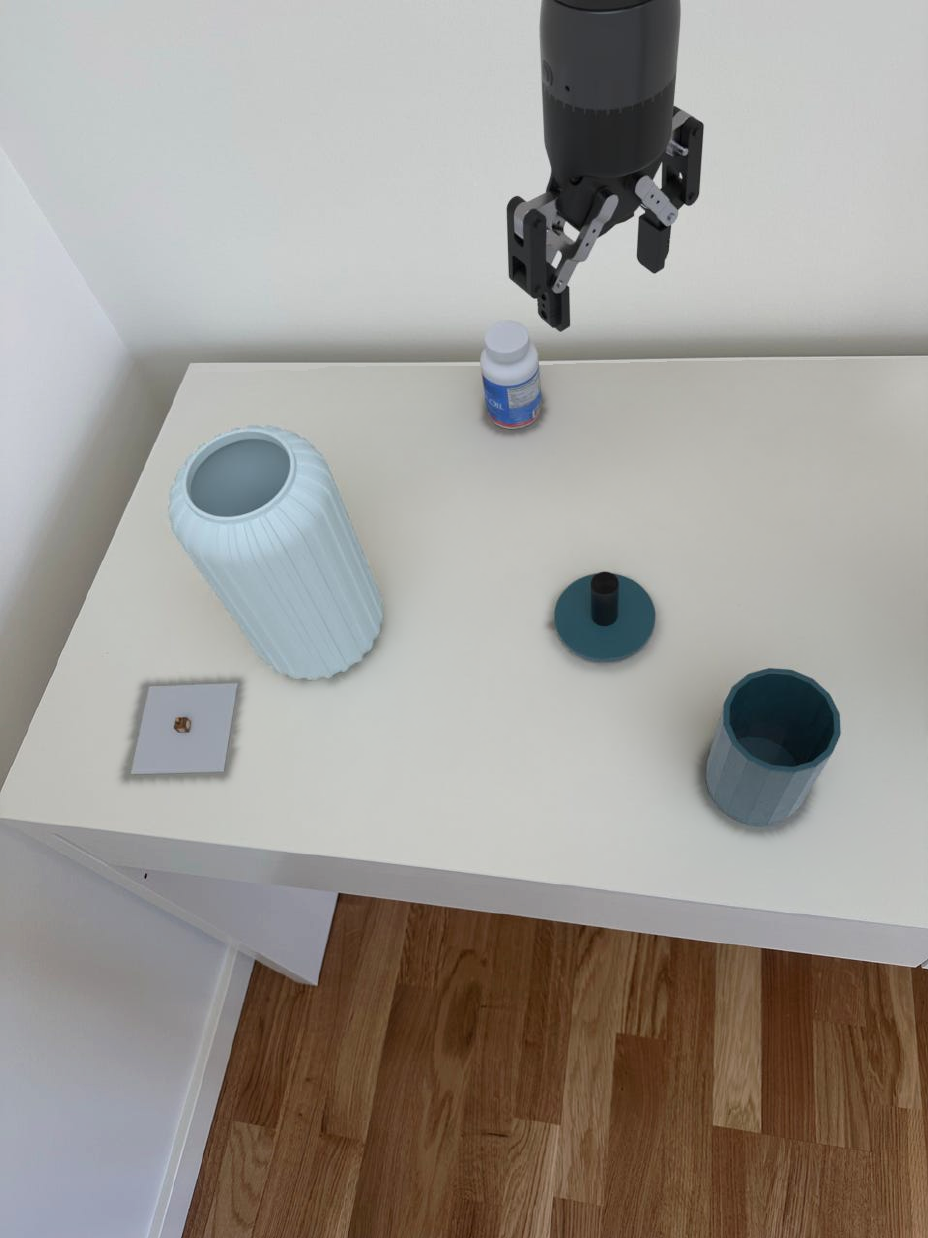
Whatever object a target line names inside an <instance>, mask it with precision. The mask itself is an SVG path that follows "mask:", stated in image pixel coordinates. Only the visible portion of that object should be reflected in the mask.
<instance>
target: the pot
mask: <svg viewBox="0 0 928 1238" xmlns="http://www.w3.org/2000/svg"><path fill="white" fill-rule="evenodd" d="M841 730H842V729H841V714H840V711H839V709H838V707H837V705H836V703H835V701H834V699H833V697H832V695H831V693H830V692H828V691H827V690H826V689H825V688H824V687H823V686H822V685H820V684H819V683H818V682H817V681H816V680H815V679H814V678H813V677H810V676H807V675H805V674H803V673H802V672H801V673H800V672H799V671H795V670H793V669H787V668H773V667H768V668H765V669H761V670H758V671H753V672H750V673H747V674H746V675H745V676H744V677H742V678H741V679H739V680H738V681H737V682H736V683H735V684H733V686H731V688H730V689H729V692H728V694H727V696H726V698H725V700H724V702H723V706H722V708H721V712H720V717H719V720H718V723H717V726H716V730H715V733H714V736H713V740H712V744H711V747H710V751H709V753H708V757H707V761H706V769H705V782H706V786H707V787H706V788H707V789H708V793H709V795H710V797H711V799H712V800H713V802H714V803H715V804H716V806H717V807H718V808H719V809H720V810H721V811H722V812H723V813H724V814H725V815H726V816H728V817H730V818H731V819H733V820H735V821H737V822H739V823H741V824H746V825H748V826H755V827H768V826H773V825H777V824H779V823H782V822H784V821H786V820H787V819H789V818H790V817H791V816H792V815H794V814H795V813H796V812H797V811H798V810H799V809H800V807H801V806H802V805H803V803H804V801H805V799H806V798H807V796H808V794H809V793H810V792H811V789H812V788H813V786H814V784H815V783H816V781H817V780H818V778H819V776H820V775H821V773H822V771H823V769H824V768H825V766H826V765H827V763H828V761H829V760H830V758H831V756H832V755H833V753H834V751H835V749H836V746H837V744H838V742H839V740H840V737H841V734H842V732H841Z"/></svg>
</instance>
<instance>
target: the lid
mask: <svg viewBox="0 0 928 1238" xmlns="http://www.w3.org/2000/svg"><path fill="white" fill-rule="evenodd" d="M553 615H554V617H553V619H554V627H555V631H556V633H557V635H558V637H559V639H560V641H561V642H562V644H563V645H564V647H566V648H567V649H568V650H569V651H570V652H571V653H573V654H574V655H576V656H578V657H580V658H581V659H584V660H587V661H591V662H595V663H615V662H620V661H623V660H626V659H628V658H630V657H632V656H634V655H636V654H637V653H638V652H639V651H641V650H642V649H643V648H644V647H645V646H646V645H647V644H648V643H649V641H650V639H651V637H652V635H653V633H654V630H655V625H656V609H655V605H654V602H653V599H652V598H651V596H650V595H649V593H648V592H647V591H646V590H645V588H644V587H643V586H641V584H639V583H638V582H636V581H635V580H634V579H631V578H629V577H627V576H625V575H622V574H619V573H612V572H610V571H600V572H597V573H592V574H588V575H585V576H582V577H580V578H578V579H577V580H575V581H573V582H572V583H571V584H569V585H568V586H567V587H566V588H565V589H564V590H563V591H562V593H561V594H560V595H559V597H558V599H557V601H556V604H555V608H554V614H553Z"/></svg>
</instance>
